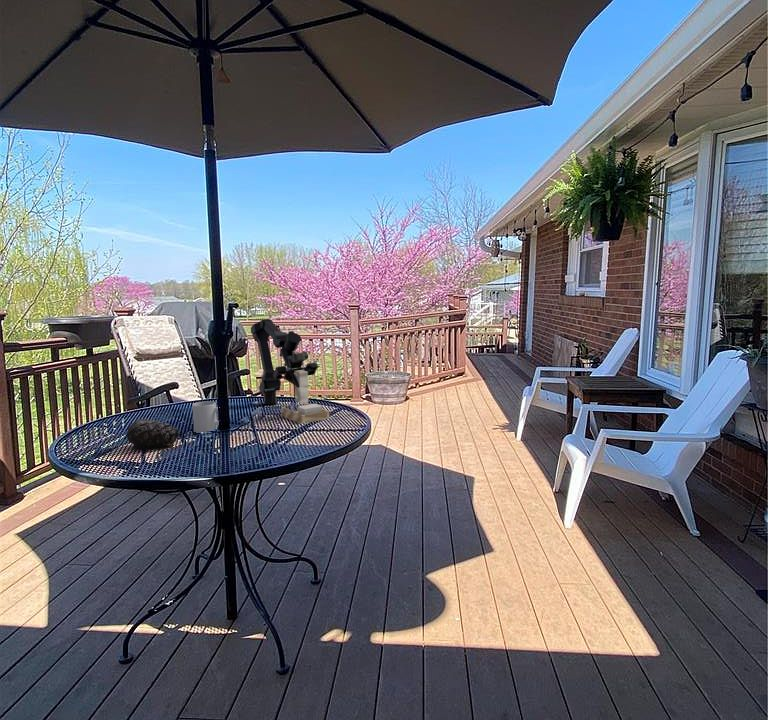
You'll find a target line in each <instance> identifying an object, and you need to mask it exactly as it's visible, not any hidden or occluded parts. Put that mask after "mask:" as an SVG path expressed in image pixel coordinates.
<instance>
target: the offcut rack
mask: <svg viewBox="0 0 768 720" xmlns="http://www.w3.org/2000/svg"><path fill="white" fill-rule="evenodd" d="M303 404H304V406H305V405H310V404H311V403H309V402H307V403H303ZM280 410H281V413H280V414H279V415H280V416H281V417H284V418H287V419H289V420H291V421H293V422H296V423H298V424H300V425H302V424H306V423H312V422H318V421H322V420H328V419H331V418H332V417H331V416H330V410H328V409H325V408H322V412H317V413H312V414H306V415H303V414H300V413H298V410H297V411H295V410H292V409H290V408H289V407H288V408H287V407H285V406H281V409H280Z"/></svg>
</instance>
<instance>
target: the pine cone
mask: <svg viewBox="0 0 768 720" xmlns="http://www.w3.org/2000/svg"><path fill="white" fill-rule="evenodd" d="M179 430H180V429H178V428H175V427H174V426H172V425H171V424H170V423H162V422H161V421H157V420H155V419H148V418H141V419H137V420H135V421H133V422H132V423H131V424H130V425H129V427H127V430H126V431H127V432H126V439H127V441H128V442H129V443H131V444H132V445H133V446H131V447H130V449H131V450H136V451H139V450H140V451H144V450H146V451H149V450H151V451H152V450H153V451H154V450H171V448H172V447H173V446H174V445H173V444H174V443H175V442H177V438H179V437H180V432H179ZM172 449H173V448H172Z"/></svg>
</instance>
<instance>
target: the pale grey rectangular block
mask: <svg viewBox="0 0 768 720" xmlns="http://www.w3.org/2000/svg"><path fill="white" fill-rule="evenodd" d="M294 375H295V377H296V379H297V381H298V384H299V388H297V387H296V386H295V385H294V392H295V393H294V394H295V396H294V397H295V402H296V403H299V404H304V403H309V379H308V378H309V375H308V372H307V371H303V370H299V371H295V373H294Z"/></svg>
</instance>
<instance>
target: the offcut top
mask: <svg viewBox="0 0 768 720" xmlns="http://www.w3.org/2000/svg"><path fill="white" fill-rule="evenodd" d="M309 404H310V405H305V404H304V405H300V406H297V411H298V413H300V414H303V415H306V414H312V413H317V412H322V409H323V405H320V404H317V403H309Z"/></svg>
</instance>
